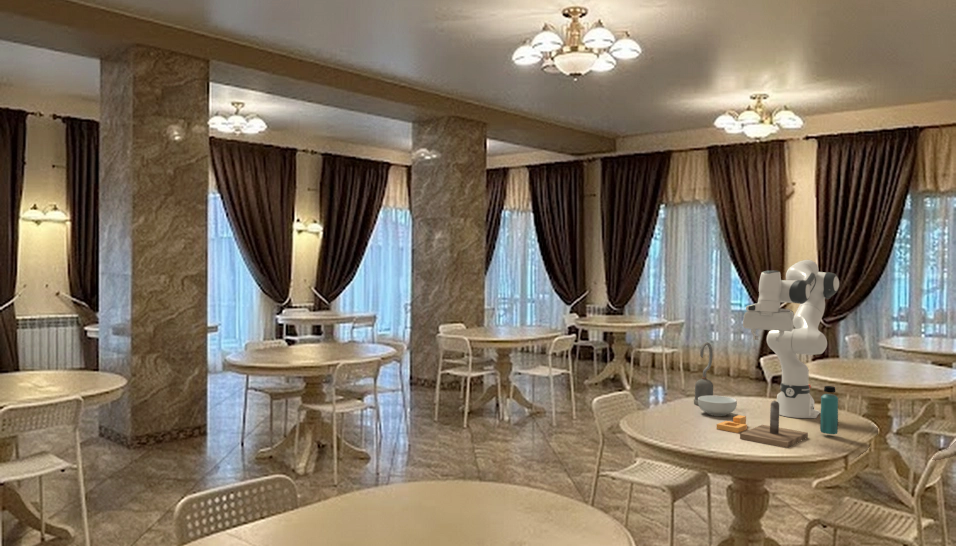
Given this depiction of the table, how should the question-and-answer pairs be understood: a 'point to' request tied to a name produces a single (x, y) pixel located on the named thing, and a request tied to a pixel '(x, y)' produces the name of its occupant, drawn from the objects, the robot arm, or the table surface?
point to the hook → (704, 378)
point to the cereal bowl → (717, 405)
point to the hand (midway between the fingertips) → (766, 340)
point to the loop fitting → (734, 424)
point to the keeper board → (774, 438)
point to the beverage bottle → (829, 412)
